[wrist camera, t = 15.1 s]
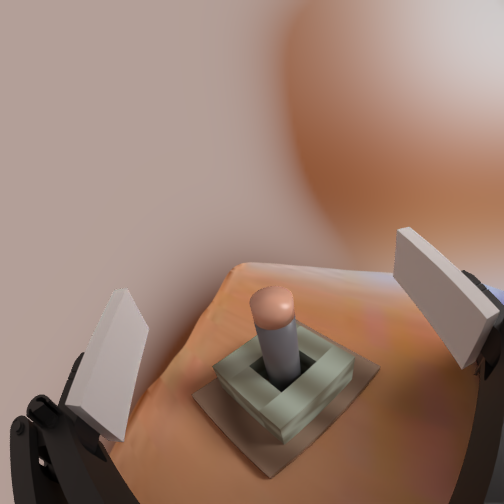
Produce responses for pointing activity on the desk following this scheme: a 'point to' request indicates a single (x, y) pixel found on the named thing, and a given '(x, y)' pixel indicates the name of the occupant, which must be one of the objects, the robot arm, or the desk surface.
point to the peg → (277, 334)
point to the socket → (283, 398)
